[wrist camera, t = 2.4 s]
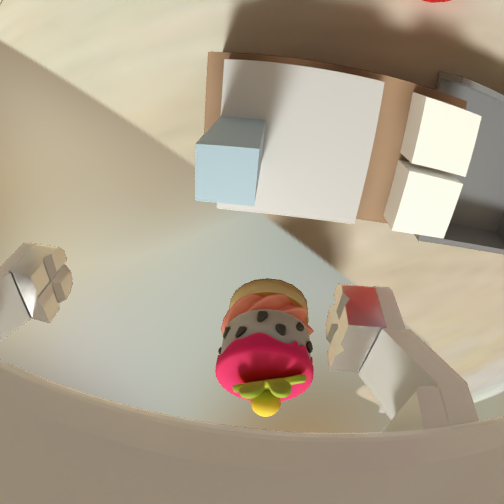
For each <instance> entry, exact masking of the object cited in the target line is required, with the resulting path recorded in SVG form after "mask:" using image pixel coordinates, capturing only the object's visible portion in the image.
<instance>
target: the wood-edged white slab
mask: <svg viewBox="0 0 504 504" xmlns="http://www.w3.org/2000/svg"><path fill="white" fill-rule="evenodd" d="M224 59H237V60H253V61H265V62H275V63H285V64H293V65H300V66H308V67H314V68H321V69H327V70H332V71H338V72H343V73H348V74H353V75H358V76H363V77H367V78H372V79H376V80H379V81H383V82H385V83H384V89H383V95H382V101H381V107H380V112H379V118H378V123H377V128H376V133H375V138H374V143H373V148H372V152H371V157H370V162H369V166H368V170H367V175H366V179H365V183H364V188H363V192H362V196H361V200H360V204H359V208H358V212H357V216H356V219H361V220H368V221H375V222H381V223H387V221H386V219H385V217H384V212H385V208H386V205H387V201H388V198H389V194H390V191H391V187H392V183H393V179H394V176H395V172H396V168H397V164H398V160H402V161H407V162H410V161H409V160H408V159H406V158H405V157H404V156H403V155H402V154H401V153H400V151H401V147H402V143H403V138H404V134H405V129H406V125H407V120H408V115H409V110H410V105H411V100H412V94H413V92H415V93H418V94H422V95H425V96H428V97H431V98H434V99H437V100H440V101H443V102H446V103H449V104H452V105H455V106H458V107H460V108H463V109H466V105H467V101H465V100H462V99H460V98H457V97H454V96H451V95H449V94H446V93H443V92H440V91H437V90H434V89H431V88H428V87H425V86H422V85H418V84H415V83H412V82H408V81H405V80H401V79H398V78H394V77H390V76H386V75H382V74H378V73H374V72H370V71H365V70H361V69H356V68H352V67H347V66H341V65H336V64H331V63H325V62H319V61H312V60H305V59H298V58H290V57H282V56H272V55H261V54H248V53H229V52H208V64H207V82H206V102H205V127H204V134H205V133H206V132H207V131H208V130H209V129H210V127H211V126H212V125H213V124H214V123H215V122H216V121H217V120H218V119H219V118H220V117H221V102H222V86H223V71H224Z"/></svg>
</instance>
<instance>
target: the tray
mask: <svg viewBox="0 0 504 504" xmlns="http://www.w3.org/2000/svg"><path fill="white" fill-rule="evenodd" d="M437 91H440V92H443V93H446V94H449V95H451V96H454V97H457V98H460V99H462V100H465V101H467V105H466V110H468V111H470V112H473V113H475V114H477V115H480V116H482V117H481V121H480V126H479V130H478V134H477V138H476V142H475V146H474V149H473V153H472V157H471V160H470V163H469V167H468V170H467V173H466V177H464V176H460V175H457V174H453V173H451V174H453V175H454V176H455V177H456V178H457V179H458V180H459V181H460V182H462V183H463V186H462V189H461V192H460V195H459V198H458V201H457V204H456V207H455V209H454V212H453V215H452V218H451V220H450V223H449V226H448V228H447V231H446V233H445V236H444V238H437V237H430V236H424V235H418V234H415V236H416V238H417V239H418V241H424V242H431V243H437V244H444V245H450V246H457V247H463V248H469V249H475V250H481V251H487V252H493V253H499V254H504V95H502V94H500V93H498V92H496V91H494V90H492V89H490V88H488V87H486V86H483V85H481V84H479V83H477V82H474V81H472V80H470V79H467V78H465V77H462V76H457V75H453V74H448V73H443V72H439V78H438V84H437Z"/></svg>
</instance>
